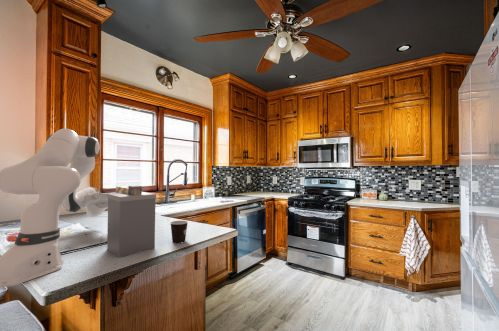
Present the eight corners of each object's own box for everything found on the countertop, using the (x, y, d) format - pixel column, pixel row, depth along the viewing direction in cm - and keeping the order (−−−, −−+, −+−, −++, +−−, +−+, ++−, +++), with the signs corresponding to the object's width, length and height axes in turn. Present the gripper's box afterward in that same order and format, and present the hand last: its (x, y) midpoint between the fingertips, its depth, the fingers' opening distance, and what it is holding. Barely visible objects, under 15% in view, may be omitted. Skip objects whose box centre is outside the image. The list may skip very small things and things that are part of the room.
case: (106, 249, 113) (107, 194, 113) (141, 241, 125) (142, 191, 125) (118, 257, 103) (119, 197, 103) (155, 248, 116) (156, 194, 116)
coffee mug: (179, 237, 133) (180, 219, 133) (190, 240, 128) (191, 222, 128) (161, 243, 123) (162, 223, 123) (172, 246, 118) (172, 226, 118)
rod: (114, 191, 123) (114, 183, 123) (123, 191, 127) (123, 183, 127) (132, 195, 109) (132, 186, 109) (141, 194, 113) (141, 186, 113)
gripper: (79, 199, 135) (86, 188, 127) (118, 195, 150) (126, 186, 142) (80, 209, 133) (88, 199, 125) (120, 205, 148) (128, 195, 140)
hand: (109, 192), depth 134 cm, fingers open, 8 cm apart
